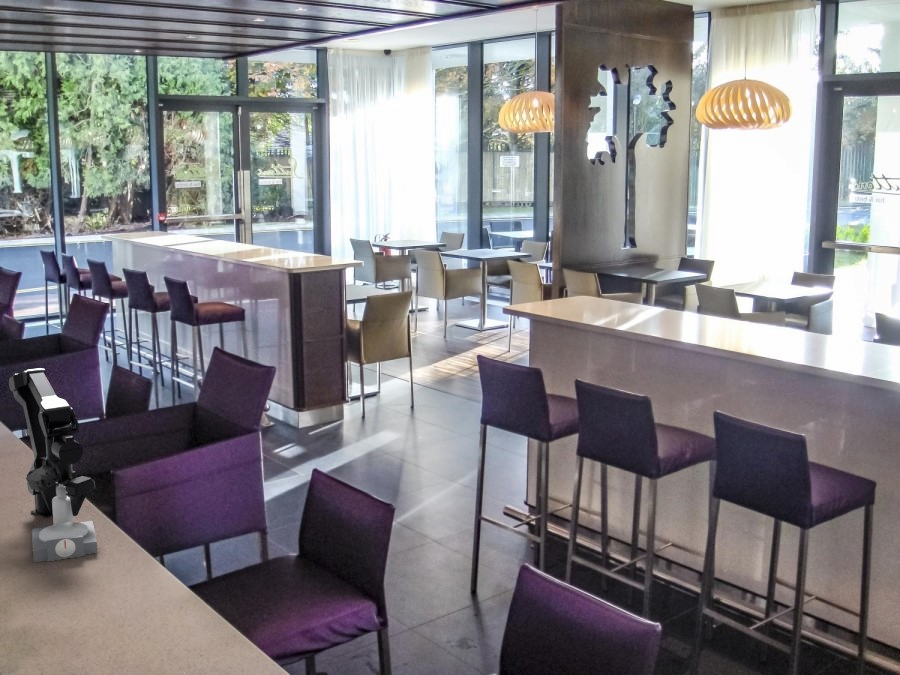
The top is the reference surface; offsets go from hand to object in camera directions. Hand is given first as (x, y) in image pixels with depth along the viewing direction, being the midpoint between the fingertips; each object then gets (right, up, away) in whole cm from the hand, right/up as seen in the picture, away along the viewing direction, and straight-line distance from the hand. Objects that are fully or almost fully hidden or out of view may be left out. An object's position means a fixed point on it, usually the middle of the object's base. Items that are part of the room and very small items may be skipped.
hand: (62, 512), depth 238 cm
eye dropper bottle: (0, -4, +1) cm, 4 cm away
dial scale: (+5, -6, -11) cm, 13 cm away
